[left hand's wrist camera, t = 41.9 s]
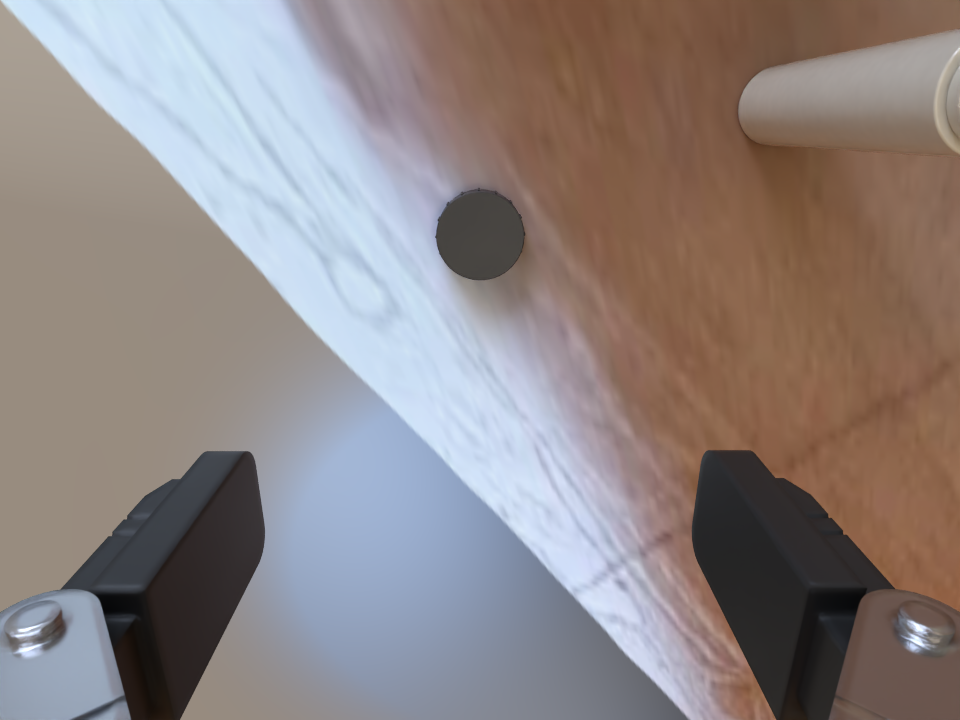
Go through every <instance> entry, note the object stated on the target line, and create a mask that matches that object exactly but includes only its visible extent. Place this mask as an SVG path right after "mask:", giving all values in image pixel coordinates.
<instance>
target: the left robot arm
mask: <svg viewBox="0 0 960 720" xmlns="http://www.w3.org/2000/svg"><path fill="white" fill-rule="evenodd" d="M264 540H265V526H264V519H263V512H262V505H261V498H260V491H259V484H258V477H257V470H256V464H255V460H254V457H253V455H252V454H251V453H250V452H248V451H207V452H204V453H203V454H202V455H201V456H200V457H199V458H198V459H197V460H196V462H195V463H194V464H193V465H192V466H191V468H190V469H189V470H188V471H187V472H186V473H185V475H184V476H183V477H182V478H181V479H172V480H170V481H169V482H167V483H165V484H164V485H162V486H161V487H159V488H157V489H156V490H154V491H153V492H151V493H149V494H148V495H146V496H145V497H144V498H143V499H142V500H141V501H140V502H139V503H138V504H137V506H136V507H135V508H134V509H133V510H132V511H131V512H130V513H129V514H128V516H127V520H123V521H122V522H121V523H120V524H119V525H118V527H117V528H116V529H115V530H114V531H113V534H112V536H109V537H108V538H107V539H106V540H105V541H104V542H103V543H102V544H101V545H100V546H99V548H98V549H97V550H96V551H95V552H94V553H93V554H92V555H91V556H90V557H89V559H88V560H87V561H86V562H85V563H84V564H83V565H82V566H81V567H80V569H79V570H78V571H77V572H76V573H75V574H74V575H73V576H72V577H71V579H70V580H69V581H68V582H67V583H66V584H65V585H64V586H63V587H62V588H61V589H60V590H55V591H50V592H46V593H42V594H39V595H36V596H32V597H30V598H27V599H25V600H22V601H20V602H18V603H16V604H14V605H12V606H10V607H8V608H7V609H5V610H3V611H1V612H0V720H180V718H181V716H182V714H183V712H184V711H185V709H186V707H187V705H188V702H189V701H190V699H191V697H192V695H193V693H194V691H195V689H196V687H197V685H198V683H199V681H200V679H201V677H202V675H203V673H204V671H205V669H206V667H207V665H208V663H209V661H210V659H211V657H212V655H213V653H214V651H215V649H216V647H217V645H218V643H219V641H220V639H221V637H222V635H223V633H224V631H225V629H226V627H227V625H228V623H229V621H230V619H231V618H232V616H233V614H234V612H235V610H236V608H237V606H238V604H239V602H240V600H241V598H242V596H243V594H244V592H245V590H246V588H247V586H248V584H249V582H250V580H251V578H252V576H253V574H254V572H255V570H256V568H257V566H258V564H259V562H260V559H261V556H262V553H263V548H264ZM692 541H693V548H694V552H695V556H696V559H697V561H698V564H699V566H700V568H701V570H702V572H703V574H704V576H705V578H706V580H707V582H708V584H709V586H710V588H711V590H712V592H713V594H714V596H715V598H716V600H717V602H718V604H719V606H720V608H721V610H722V612H723V614H724V616H725V618H726V620H727V622H728V624H729V626H730V628H731V630H732V632H733V634H734V636H735V638H736V640H737V642H738V644H739V646H740V648H741V650H742V652H743V654H744V656H745V658H746V660H747V662H748V664H749V666H750V668H751V670H752V672H753V674H754V676H755V678H756V680H757V682H758V684H759V686H760V688H761V690H762V692H763V694H764V696H765V698H766V700H767V702H768V704H769V706H770V708H771V710H772V712H773V714H774V716H775V718H776V720H960V612H959V611H957V610H955V609H953V608H952V607H950V606H948V605H946V604H944V603H942V602H940V601H938V600H935V599H933V598H930V597H928V596H925V595H921V594H918V593H914V592H910V591H905V590H898V589H895V588H894V587H893V586H892V585H891V584H890V583H889V581H888V580H887V579H886V578H885V577H884V576H883V575H882V574H881V573H880V571H879V570H878V569H877V568H876V567H875V566H874V565H873V564H872V562H871V561H870V560H869V559H868V558H867V557H866V556H865V555H864V554H863V552H862V551H861V550H860V549H859V548H858V547H857V546H856V545H855V544H854V542H853V541H852V540H851V539H850V538H849V537H848V536H847V535H843V530H842V529H841V528H840V527H839V526H838V525H837V523H836V522H835V521H834V520H833V519H832V518H829V517H828V513H827V512H826V511H825V510H824V509H823V508H822V507H821V506H820V505H819V503H818V502H817V501H816V500H815V499H814V498H813V497H812V496H811V495H810V494H809V493H807V492H805V491H804V490H802V489H801V488H799V487H797V486H796V485H794V484H792V483H791V482H789V481H788V480H786V479H784V478H775V477H774V476H773V475H772V473H771V472H770V471H769V470H768V469H767V468H766V466H765V465H764V464H763V463H762V462H761V460H760V459H759V458H758V457H757V456H756V454H755V453H754V452H752V451H749V450H708V451H706V452H705V453H704V455H703V457H702V461H701V466H700V473H699V480H698V487H697V494H696V501H695V509H694V516H693V523H692Z"/></svg>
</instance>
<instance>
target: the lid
mask: <svg viewBox="0 0 960 720" xmlns="http://www.w3.org/2000/svg"><path fill="white" fill-rule="evenodd" d="M521 218H522V217H521V215H520V214H518V212H517V210H516V208H515V207H514V206H513V204H512V202H511V200H510V201H509V200H508V199H506V198H505V197H504V196H502V195H500V194H498V193H497V191H495V192H493V191H490V190H483V189H480V188H478V190H471V191H467V192H464V193H463V192H461V194H460V195H459V196H457V197H455V198H454V199H453V200H452V201H451V202H450V203H449V202H448V203H447V206H446V208H445V209H444V211H443V213H442V215H441V217H439V218H438V221H439V222H438V226H437V233H436V236H435V237H436V239H437V246H438V250H439V254H440V255H441V257H442V259H443V260H444V262H445V263H446V264H447V265H448V267H449V268H450V269H452V270H453V271H454V272H456V273H457V274H459V275H461V276H463V277H465V278H468V279H473V280H488V279H492V278H495V277H498V276H500V275H502V274H503V273H505V272H506V271H508V270H509V269H510V268H511V267H512V266H513V265H514V264H515V262H516V261H517V259H518V258H519V256H520V254H521V252H522V248H523V244H524V236H525V233H524V228H523V224H522V221H521Z"/></svg>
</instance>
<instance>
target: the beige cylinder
mask: <svg viewBox="0 0 960 720" xmlns="http://www.w3.org/2000/svg"><path fill="white" fill-rule="evenodd" d="M738 116H739V122H740V125H741V127H742V129H743V131H744V132H745V134H746V135H747V136H748V137H749V138H750V139H751V140H753V141H755V142H756V143H759V144H763V145H772V146H787V147H802V148H817V149H832V150H847V151H862V152H877V153H892V154H907V155H922V156H937V157H952V158H960V28H959V29H954V30H949V31H944V32H939V33H935V34H930V35H925V36H920V37H915V38H910V39H905V40H900V41H895V42H890V43H885V44H880V45H876V46H871V47H866V48H861V49H856V50H851V51H846V52H841V53H836V54H831V55H826V56H822V57H817V58H812V59H807V60H802V61H797V62H792V63H787V64H782V65H777V66H773V67H770V68H767V69H765V70H763V71H761V72H760V73H758V74H757V75H756V76H755V77H753V79H752V80H751V81H750V82H749V83H748V84H747V86H746V87H745V89H744V91H743V93H742V95H741V98H740V102H739V108H738Z"/></svg>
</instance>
